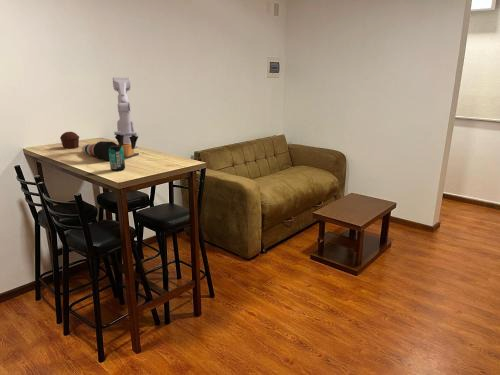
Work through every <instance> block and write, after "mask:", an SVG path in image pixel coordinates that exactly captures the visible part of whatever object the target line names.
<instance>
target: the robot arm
mask: <svg viewBox="0 0 500 375" xmlns="http://www.w3.org/2000/svg"><path fill="white" fill-rule="evenodd" d="M112 87H113V90H114V91H115V92H117V93H118V94H117V113H118V117H119V119H118V120H117V122H116V126H117V131H113V132H114V139H115V140H116V141H117V143H118V144H119V145H122V146H124V144H123V143H128V144H131V147H132V149H134V150H135V149H136V148H137V147H138V145H137V141H138V138H139V132H135V126H134V121H133V120H132V119H131V104H130V101H129V95H128V94H127V93H128V92H129V91H131V79H130V77H129V76H128V77H127V76H126V77H124V76H123V77H121V76H119V77H112Z"/></svg>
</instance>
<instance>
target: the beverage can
mask: <svg viewBox="0 0 500 375" xmlns="http://www.w3.org/2000/svg"><path fill="white" fill-rule="evenodd" d="M109 159H110V160H109V168H110V170H111V171H112V172H121V171H124V170H125V169H126V162H125V160H126V159H125V160H124V150H123V148H122V146H121V145H113V146H110V148H109Z"/></svg>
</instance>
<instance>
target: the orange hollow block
mask: <svg viewBox="0 0 500 375" xmlns="http://www.w3.org/2000/svg"><path fill="white" fill-rule="evenodd" d="M116 144H117V143H116ZM123 144H124V146H122V145H121V146H122V148H123V150H124V157H127V156H130V155H133V154H134V153H135V149H132V147H131V144H128V143H123ZM117 145H119V143H118V144H117Z"/></svg>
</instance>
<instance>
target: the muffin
mask: <svg viewBox="0 0 500 375" xmlns="http://www.w3.org/2000/svg"><path fill="white" fill-rule="evenodd" d="M59 138H60V139H59V140H60V142H61V145H62V147H63V149H65V150H74V149H79V147H80V146H79V145H80V144H79V143H80V136H79V135H78V134H77V133H76V132H73V131H65V132H64V133H62V134H61V136H60V137H59Z"/></svg>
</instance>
